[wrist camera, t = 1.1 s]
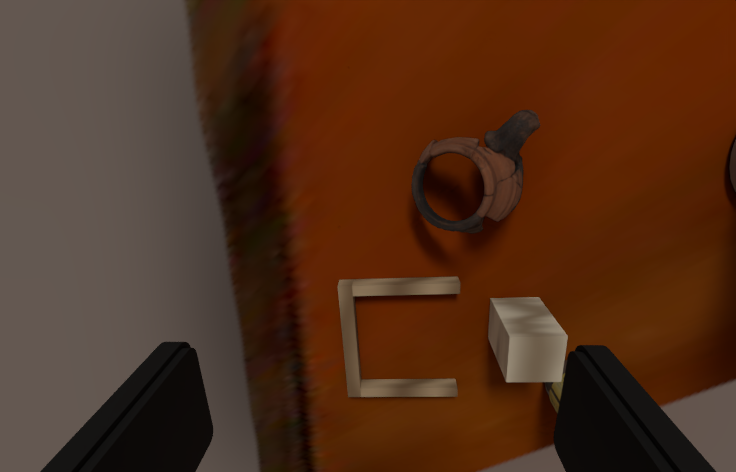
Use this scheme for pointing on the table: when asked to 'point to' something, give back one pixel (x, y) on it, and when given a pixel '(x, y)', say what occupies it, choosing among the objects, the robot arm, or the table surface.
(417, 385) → the oak bay
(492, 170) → the broken clay pot rim
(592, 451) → the robot arm
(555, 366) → the birch block
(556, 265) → the table surface
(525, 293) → the table surface
